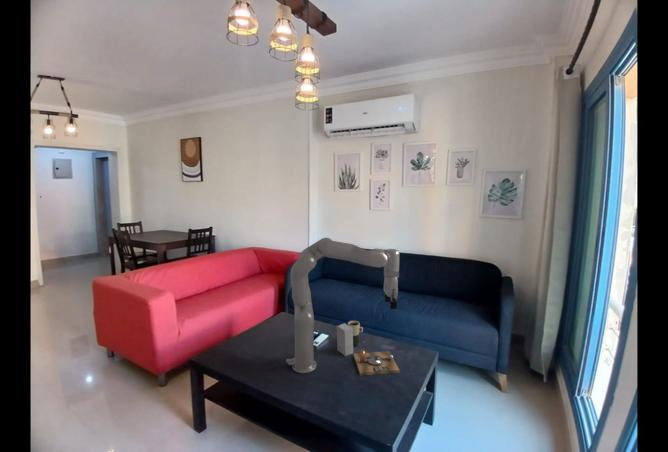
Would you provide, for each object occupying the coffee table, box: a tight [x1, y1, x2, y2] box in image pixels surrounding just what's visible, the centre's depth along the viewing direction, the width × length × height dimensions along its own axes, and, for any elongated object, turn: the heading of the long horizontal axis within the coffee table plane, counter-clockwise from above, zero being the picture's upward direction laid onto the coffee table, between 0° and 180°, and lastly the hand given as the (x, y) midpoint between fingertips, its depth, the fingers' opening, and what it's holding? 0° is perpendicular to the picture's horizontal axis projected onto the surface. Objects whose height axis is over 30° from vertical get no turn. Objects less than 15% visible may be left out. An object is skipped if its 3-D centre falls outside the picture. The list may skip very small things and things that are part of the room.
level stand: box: [352, 350, 400, 377], centre depth 164 cm, size 20×18×2 cm
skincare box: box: [336, 323, 354, 357], centre depth 176 cm, size 8×6×15 cm
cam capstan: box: [359, 349, 394, 365], centre depth 164 cm, size 18×8×6 cm, turn 97°
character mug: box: [347, 320, 364, 347], centre depth 184 cm, size 11×7×13 cm, turn 75°
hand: (390, 305), depth 163 cm, fingers open, 9 cm apart
